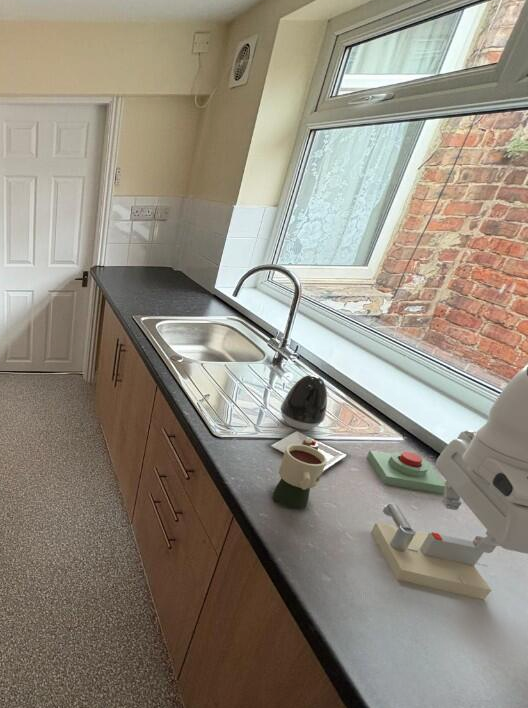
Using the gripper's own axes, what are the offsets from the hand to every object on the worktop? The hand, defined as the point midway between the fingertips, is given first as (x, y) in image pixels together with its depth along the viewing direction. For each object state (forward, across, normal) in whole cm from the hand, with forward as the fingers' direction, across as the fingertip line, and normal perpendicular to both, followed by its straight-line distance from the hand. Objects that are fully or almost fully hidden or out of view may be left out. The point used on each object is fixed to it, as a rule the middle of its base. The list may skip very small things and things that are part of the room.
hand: (463, 526), depth 70 cm
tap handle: (+7, 0, 0) cm, 7 cm away
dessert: (+11, -30, -13) cm, 35 cm away
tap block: (+11, 0, -1) cm, 11 cm away
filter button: (+7, -28, +6) cm, 30 cm away
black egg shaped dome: (+11, -44, -12) cm, 47 cm away
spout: (+7, -3, -7) cm, 10 cm away
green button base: (+11, -28, +6) cm, 31 cm away
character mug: (+11, -10, -21) cm, 26 cm away
